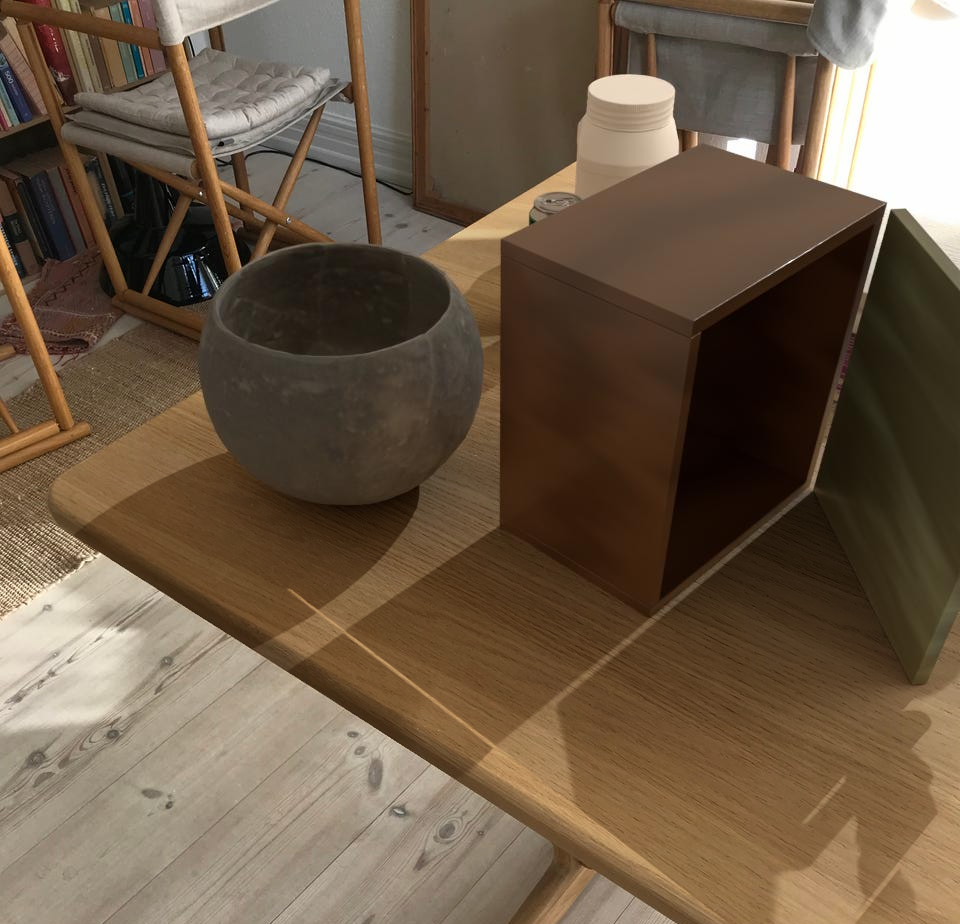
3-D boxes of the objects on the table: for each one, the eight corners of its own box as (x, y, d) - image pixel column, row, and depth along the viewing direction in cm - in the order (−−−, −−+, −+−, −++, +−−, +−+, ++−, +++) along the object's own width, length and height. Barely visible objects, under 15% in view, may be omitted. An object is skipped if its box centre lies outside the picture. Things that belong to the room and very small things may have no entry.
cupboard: (810, 487, 80) (887, 202, 64) (648, 619, 70) (693, 321, 54) (664, 415, 87) (702, 142, 71) (499, 526, 77) (500, 238, 61)
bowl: (366, 595, 72) (342, 410, 61) (168, 487, 81) (117, 309, 70) (534, 455, 83) (539, 278, 72) (344, 373, 92) (324, 204, 81)
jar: (667, 269, 105) (687, 111, 94) (572, 267, 105) (581, 110, 94) (660, 219, 113) (677, 68, 102) (572, 218, 113) (579, 68, 102)
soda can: (582, 344, 95) (591, 214, 86) (527, 344, 95) (530, 215, 86) (578, 316, 98) (586, 188, 90) (525, 316, 98) (528, 189, 90)
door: (892, 484, 80) (989, 203, 64) (1007, 677, 66) (1167, 379, 50) (812, 490, 79) (890, 208, 64) (911, 685, 66) (1041, 386, 50)
